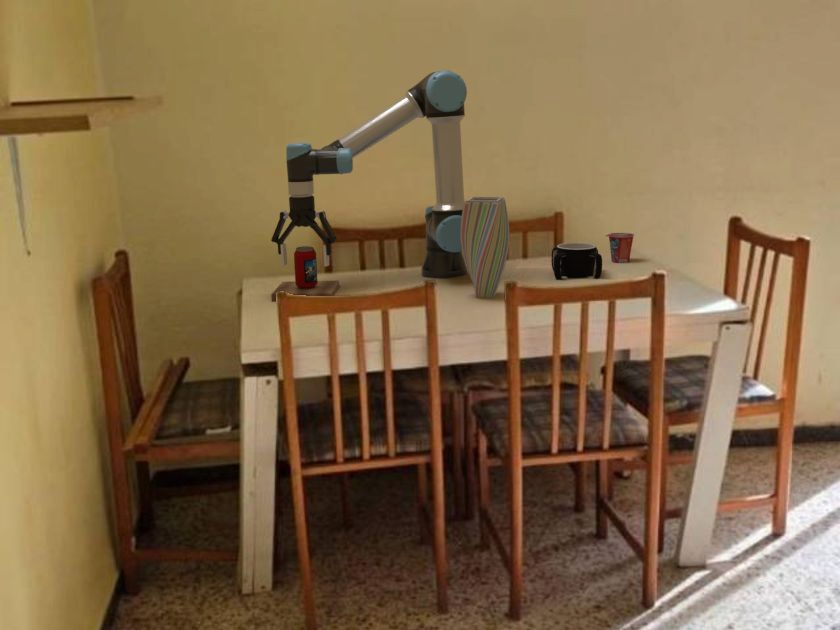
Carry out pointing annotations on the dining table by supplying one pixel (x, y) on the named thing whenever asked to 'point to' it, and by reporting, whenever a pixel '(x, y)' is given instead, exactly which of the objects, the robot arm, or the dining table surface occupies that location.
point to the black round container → (576, 261)
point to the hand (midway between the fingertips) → (305, 265)
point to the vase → (485, 242)
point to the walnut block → (308, 289)
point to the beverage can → (305, 267)
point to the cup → (620, 246)
